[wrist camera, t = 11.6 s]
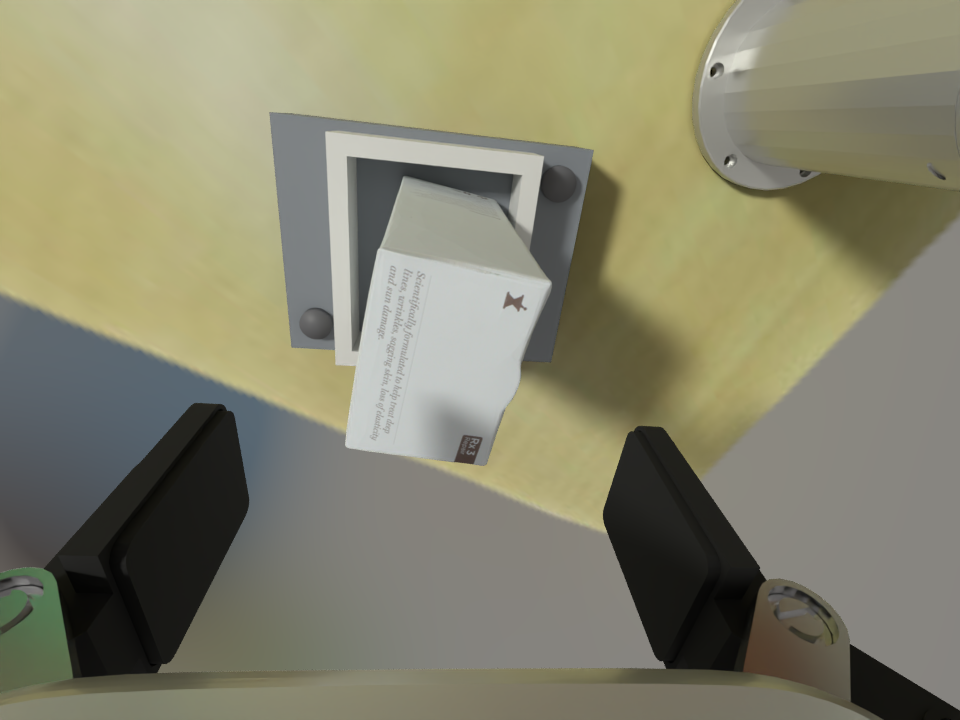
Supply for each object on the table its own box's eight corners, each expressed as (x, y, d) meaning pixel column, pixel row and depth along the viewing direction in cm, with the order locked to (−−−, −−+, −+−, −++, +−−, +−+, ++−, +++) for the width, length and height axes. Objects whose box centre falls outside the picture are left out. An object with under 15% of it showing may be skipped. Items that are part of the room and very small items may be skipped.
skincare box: (403, 173, 26) (367, 225, 13) (502, 200, 27) (562, 274, 14) (379, 306, 30) (332, 453, 17) (468, 325, 31) (489, 476, 18)
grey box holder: (575, 146, 30) (610, 153, 24) (540, 338, 36) (560, 383, 30) (290, 113, 28) (248, 111, 21) (306, 323, 34) (277, 368, 28)
